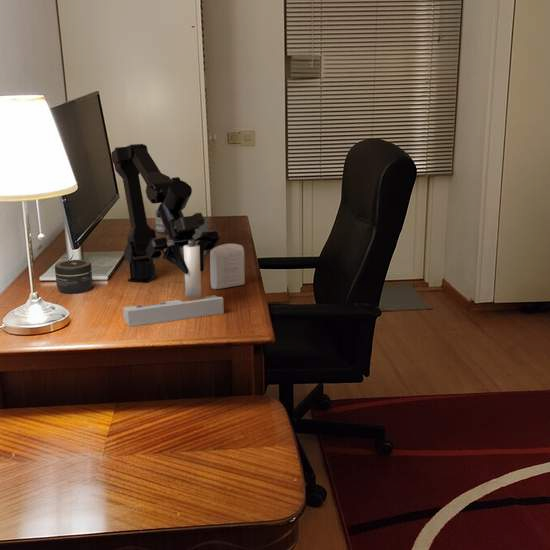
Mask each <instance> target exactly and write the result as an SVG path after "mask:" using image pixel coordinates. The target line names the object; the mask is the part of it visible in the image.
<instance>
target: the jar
mask: <svg viewBox="0 0 550 550" xmlns="http://www.w3.org/2000/svg"><path fill="white" fill-rule="evenodd" d="M54 270H55V271H54V273H55V280H56V287H57V290H58V291H59V293H61V294H64V295H76V294H83V293H86V292H89V291H90V290H92V289H91V288H92V286H93V273H92V271H93V269H92V263H91V262H90V260H86V259H68V260H64V261H60V262H58V263H55V266H54Z"/></svg>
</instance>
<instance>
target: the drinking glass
mask: <svg viewBox="0 0 550 550" xmlns="http://www.w3.org/2000/svg"><path fill="white" fill-rule="evenodd" d="M203 218H204V224H203V225H202V226H199V227H200V228H197V229H196V230H195V232H196V233H195V235H193V236H192V237H193V238H199V237H200V236H201V234H202V232H204V231H208V226H209V225H208V223H209V219H208V217H204V216H203ZM180 253H181V255H182V257H184V248H180ZM207 253H208V250H206V251H204V254H203V257H204V256H206V255H207Z"/></svg>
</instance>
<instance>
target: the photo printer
mask: <svg viewBox="0 0 550 550" xmlns="http://www.w3.org/2000/svg"><path fill="white" fill-rule="evenodd" d="M209 251H210V252H209V262H210V264H209V265H210V266H209V268H210V269H209V271H210V273H209V274H210V276H209V277H210V286H211V287H210V288H211V289H212V290H220V289H227V288H231V287H238V286H242V285H245V279H246V277H245V249H244V246H243V245H241V244H237V243H224V244H220V245H216V246H215V248H214V249H212V250H209Z"/></svg>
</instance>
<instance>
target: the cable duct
mask: <svg viewBox="0 0 550 550" xmlns="http://www.w3.org/2000/svg"><path fill="white" fill-rule="evenodd" d="M224 311H225V310H224V298H223V297H222V296H217V295H216V294H213V295H206V296H203V298H201V299H195V300H187V301H186V300H185V301H182V300H181V299H175V300H169V301H160V302H159V304H151V305H143V306H142V304H141V305H131V306H123V307H122V312H123V319H124V321H125V323H126V324H127V327H129V328H130V327H131V328H132V327H138V326H144V325H152V324H158V323H159V324H160V323H165V322H172V321H180V320H187V318H188V319H195V318H200V317H201V316H202V317H207V316H208V315H209V316H217V315H221V314H224V313H225V312H224Z"/></svg>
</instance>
